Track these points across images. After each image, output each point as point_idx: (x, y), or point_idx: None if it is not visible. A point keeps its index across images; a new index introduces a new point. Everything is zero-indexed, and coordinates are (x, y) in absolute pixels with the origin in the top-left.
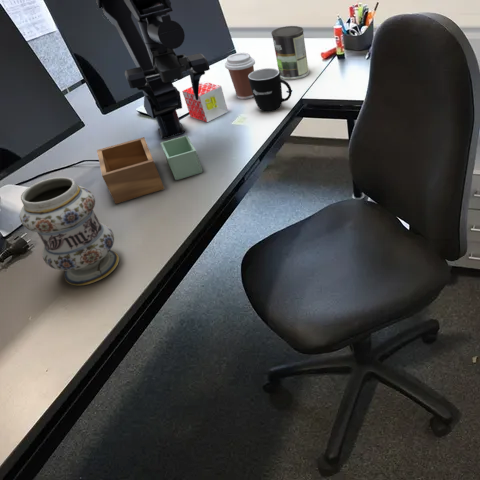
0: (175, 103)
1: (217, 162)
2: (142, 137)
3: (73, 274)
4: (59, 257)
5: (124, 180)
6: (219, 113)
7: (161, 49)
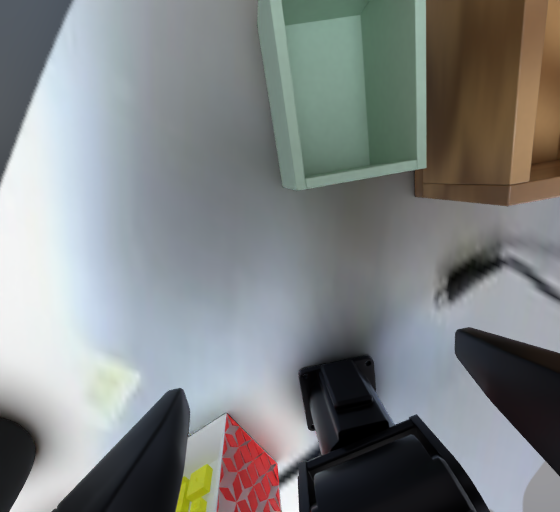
0: (328, 473)
1: (195, 86)
2: (516, 203)
3: None
4: None
5: None
6: None
7: None
